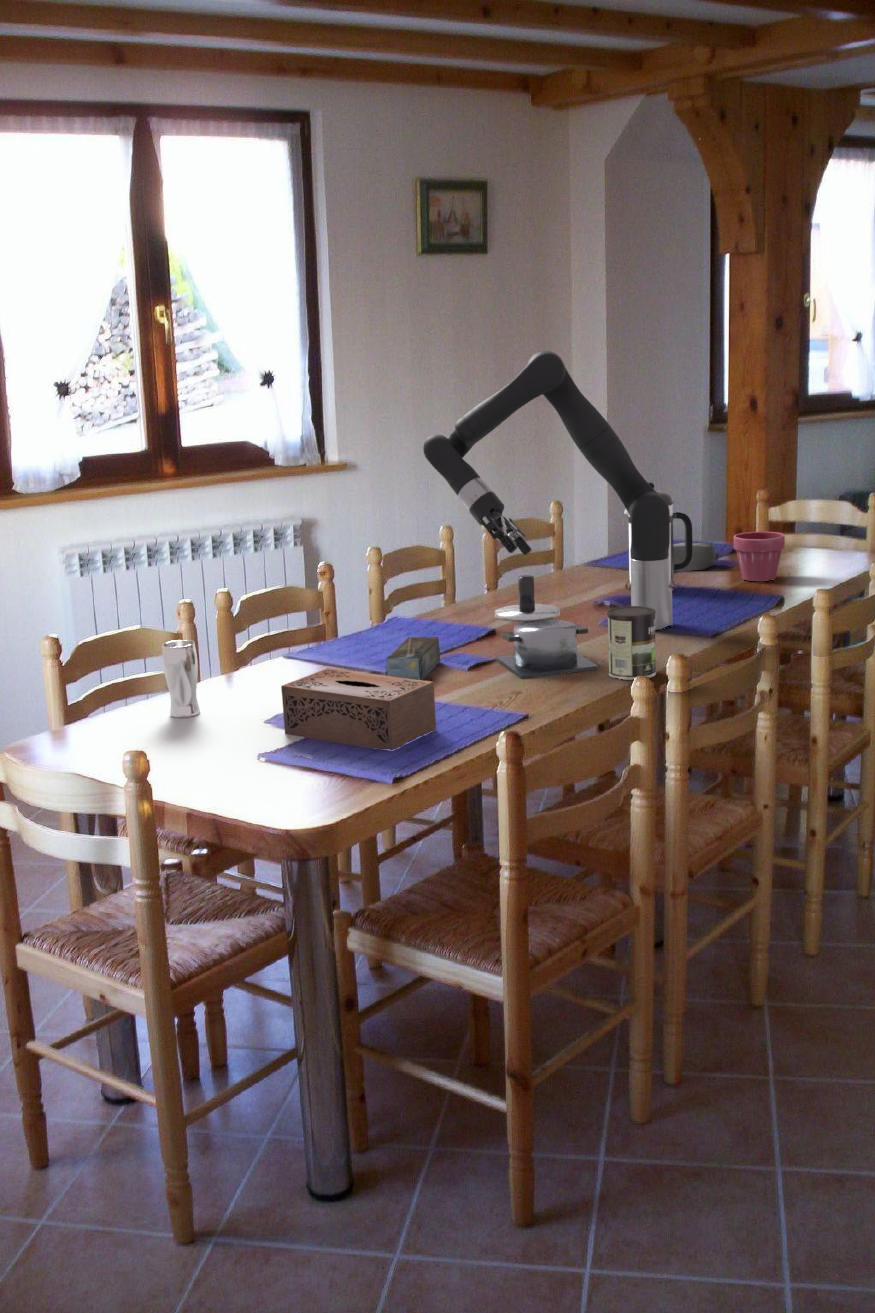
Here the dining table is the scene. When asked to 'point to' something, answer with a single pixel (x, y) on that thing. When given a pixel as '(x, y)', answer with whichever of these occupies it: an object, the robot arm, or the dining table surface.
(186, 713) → the crushed soda can
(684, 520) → the coffee press
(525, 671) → the pot
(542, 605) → the lid
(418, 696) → the tissue box cover
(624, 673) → the coffee can
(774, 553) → the plant pot
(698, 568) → the grey dish
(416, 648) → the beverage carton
